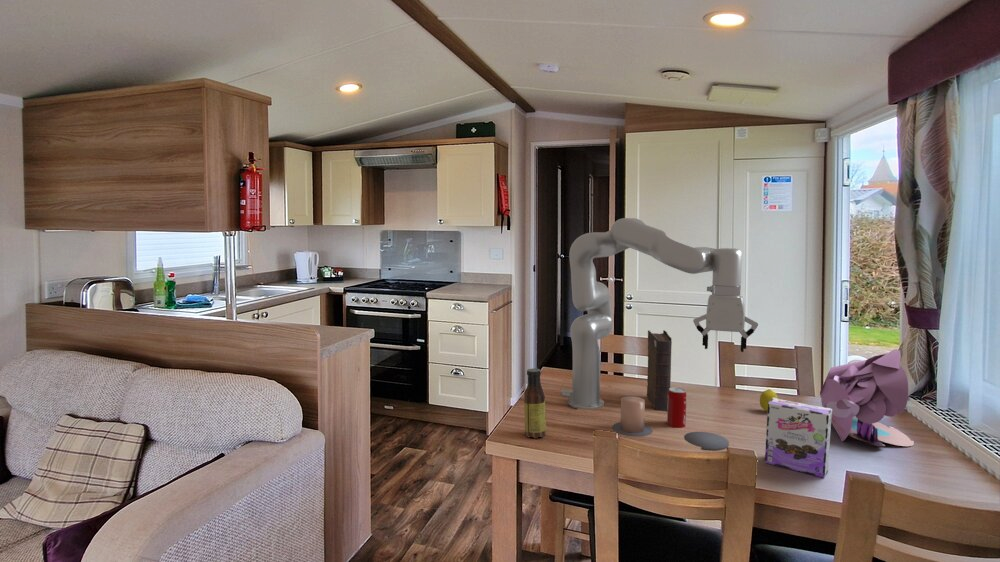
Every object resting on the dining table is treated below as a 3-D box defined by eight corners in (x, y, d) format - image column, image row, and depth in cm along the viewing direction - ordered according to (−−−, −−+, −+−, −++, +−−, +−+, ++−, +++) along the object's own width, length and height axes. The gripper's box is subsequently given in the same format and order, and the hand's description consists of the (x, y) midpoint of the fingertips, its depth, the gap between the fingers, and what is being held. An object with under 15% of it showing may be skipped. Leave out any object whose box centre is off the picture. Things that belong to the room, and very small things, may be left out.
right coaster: (682, 446, 150) (682, 444, 150) (685, 431, 161) (685, 429, 161) (728, 453, 145) (728, 451, 145) (728, 437, 156) (728, 435, 156)
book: (670, 413, 176) (672, 339, 174) (648, 411, 178) (650, 338, 175) (666, 397, 192) (668, 330, 190) (645, 396, 194) (647, 329, 191)
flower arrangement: (934, 478, 141) (975, 381, 134) (838, 453, 145) (873, 358, 138) (875, 419, 174) (906, 339, 167) (799, 401, 179) (825, 322, 172)
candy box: (763, 463, 139) (766, 402, 137) (769, 455, 143) (772, 396, 142) (824, 478, 130) (828, 413, 128) (828, 470, 135) (832, 407, 133)
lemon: (780, 416, 173) (781, 392, 173) (761, 415, 174) (762, 391, 174) (774, 410, 179) (776, 387, 178) (757, 409, 180) (758, 386, 179)
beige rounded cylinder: (618, 431, 159) (618, 402, 158) (622, 423, 166) (623, 395, 165) (642, 434, 156) (642, 405, 156) (645, 426, 163) (646, 398, 162)
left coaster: (608, 434, 158) (608, 432, 158) (616, 421, 169) (616, 419, 169) (649, 441, 153) (649, 439, 153) (655, 426, 164) (655, 424, 164)
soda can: (686, 430, 161) (688, 392, 160) (668, 429, 162) (669, 390, 161) (684, 423, 167) (685, 386, 165) (666, 422, 168) (667, 385, 167)
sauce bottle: (550, 435, 158) (550, 370, 156) (536, 441, 153) (536, 374, 151) (533, 429, 162) (533, 366, 160) (519, 435, 158) (519, 369, 156)
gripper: (693, 291, 153) (691, 349, 154) (760, 294, 146) (757, 355, 147) (695, 288, 159) (693, 344, 161) (758, 291, 152) (756, 349, 154)
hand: (723, 349), depth 154 cm, fingers open, 9 cm apart
